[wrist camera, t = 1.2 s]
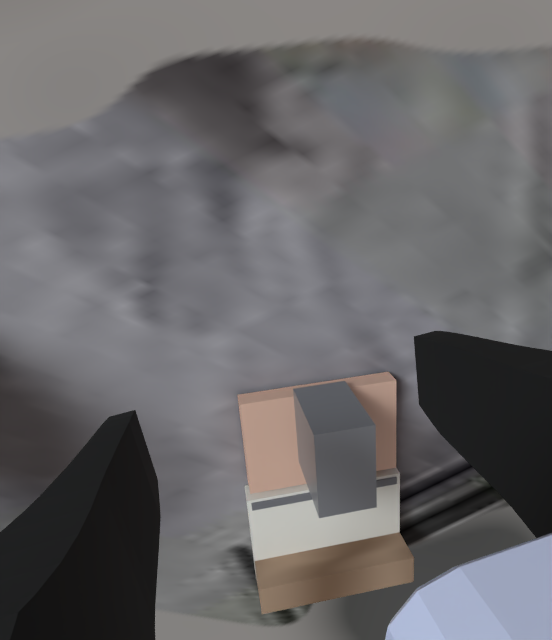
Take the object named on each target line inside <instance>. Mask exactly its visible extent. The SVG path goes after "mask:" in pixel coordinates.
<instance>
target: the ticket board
mask: <svg viewBox="0 0 552 640" xmlns="http://www.w3.org/2000/svg"><path fill="white" fill-rule="evenodd" d="M376 489H377V507H376V508H371V509H365V510H360V511H355V512H350V513H344V514H339V515H334V516H329V517H323V518H319V517H318V514H317V511H316V508H315V505H314V503H313V500H312V497H311V494H310V491H309V489H308V486H307V484H302V485H297V486H291V487H286V488H280V489H275V490H269V491H264V492H258V493H253V494H250V490H249V485H246V486H245V494H246V502H247V510H248V518H249V526H250V534H251V542H252V550H253V558H254V566H255V573H256V579H257V585H258V591H259V598H260V604H261V610H262V614H265V613H270V612H274V611H279V610H284V609H288V608H293V607H298V606H302V605H307V604H312V603H316V602H321V601H326V600H330V599H335V598H340V597H344V596H348V595H353V594H358V593H363V592H367V591H372V590H376V589H382V588H386V587H391V586H396V585H400V584H405V583H410V582H413V579H414V557H413V555H412V554H411V552H410V550H409V548H408V546H407V545H406V543H405V541H404V539H403V537H402V536H401V534H400V473H399V471H398V470H397V468H391V469H385V470H380V471H376Z"/></svg>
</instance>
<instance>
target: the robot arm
mask: <svg viewBox="0 0 552 640" xmlns="http://www.w3.org/2000/svg"><path fill="white" fill-rule="evenodd" d="M414 344H415V357H416V370H417V383H418V395H419V405H420V407H421V408H422V409H423V411H424V412H425V414H426V415H427V417H428V418H429V419H430V421H431V422H432V423H433V425H434V426H435V427H436V429H437V430H438V431H439V433H440V434H441V435H442V436H443V437H444V438H445V439H446V440H447V441H448V442H449V443H450V444H451V445H452V446H453V447H454V448H455V449H456V450H457V451H458V453H459V454H460V455H461V456H462V457H463V458H464V459H465V460H466V461H467V462H468V463H469V464H470V465H471V466H472V467H473V468H474V469H475V470H476V471H477V472H478V473H479V474H480V475H481V476H482V477H483V478H484V479H485V480H486V481H487V482H488V483H489V484H490V485H491V486H492V487H493V488H494V489H495V490H496V491H497V492H498V493H499V494H500V495H501V496H502V497H503V498H504V499H505V500H506V501H507V503H508V504H509V505H510V506H511V507H512V508H513V509H514V511H515V512H516V513H517V514H518V515H519V517H520V518H521V519H522V520H523V522H524V523H525V524H526V525H527V527H528V528H529V529H530V530H531V532H532V533H533V534H534V535H535V537H536V539H533V540H530V541H527V542H524V543H521V544H518V545H515V546H513V547H510V548H507V549H504V550H501V551H498V552H495V553H492V554H490V555H487V556H484V557H481V558H478V559H475V560H472V561H469V562H466V563H463V564H461V565H458V566H455V567H453V568H451V569H450V570H448V571H446V572H444V573H442V574H441V575H439V576H437V577H436V578H434V579H432V580H430V581H429V582H427V583H425V584H423V585H421V586H420V587H418V588H417V589H416V590H415V591H414V593H413V594H412V595H411V596H410V597H409V599H408V600H407V601H406V602H405V604H404V605H403V606H402V607H401V608H400V610H399V611H398V612H397V613H396V615H395V616H394V617H393V618H392V620H391V622H390V624H389V626H388V629H387V634H386V639H385V640H552V351H549V350H542V349H536V348H530V347H524V346H519V345H513V344H508V343H503V342H498V341H493V340H488V339H483V338H479V337H474V336H469V335H463V334H458V333H452V332H444V331H433V332H430V333H426V334H422V335H418V336H414ZM159 534H160V503H159V491H158V480H157V476H156V473H155V470H154V467H153V464H152V461H151V458H150V455H149V452H148V448H147V445H146V442H145V439H144V436H143V433H142V430H141V427H140V424H139V421H138V417H137V414H136V411H135V410H134V411H130V412H126V413H122V414H118V415H115V416H111V417H109V418H108V419H107V420H106V421H105V422H104V423H103V424H102V425H101V427H100V428H99V429H98V430H97V432H96V433H95V434H94V435H93V436H92V438H91V439H90V440H89V441H88V443H87V444H86V445H85V446H84V447H83V449H82V450H81V451H80V452H79V453H78V455H77V456H76V457H75V458H74V459H73V461H72V462H71V463H70V464H69V465H68V466H67V468H66V469H65V470H64V471H63V472H62V473H61V474H60V475H59V476H58V477H57V478H56V479H55V481H54V482H53V483H52V484H51V485H50V486H49V487H48V488H47V489H46V490H45V491H44V492H43V493H42V495H41V496H40V497H39V498H37V499H36V500H35V501H34V502H33V503H32V504H31V505H30V506H29V507H28V508H27V509H26V510H25V511H24V512H23V513H22V514H21V515H19V516H18V517H17V518H16V519H15V520H14V521H13V522H12V523H11V524H9V525H8V526H7V527H6V528H5V529H4V530H3V531H1V532H0V640H155V599H156V583H157V567H158V552H159Z"/></svg>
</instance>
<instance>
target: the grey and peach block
mask: <svg viewBox="0 0 552 640" xmlns="http://www.w3.org/2000/svg"><path fill="white" fill-rule="evenodd" d="M237 396H238V404H239V412H240V420H241V428H242V437H243V445H244V453H245V461H246V469H247V478H248V484H249V490H250V494H253V493H258V492H264V491H269V490H275V489H280V488H286V487H291V486H297V485H302V484H307V486H308V489H309V491H310V494H311V497H312V500H313V503H314V505H315V508H316V511H317V514H318V517H319V518H323V517H329V516H334V515H339V514H344V513H350V512H355V511H360V510H365V509H371V508H376V507H377V489H376V471H380V470H385V469H391V468H396V379H395V378H394V377H393V376H392V375H391V374H390V373H389V372H383V373H377V374H370V375H364V376H357V377H350V378H344V379H337V380H331V381H324V382H318V383H311V384H305V385H298V386H292V387H285V388H279V389H272V390H266V391H259V392H252V393H246V394H239V395H237Z"/></svg>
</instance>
